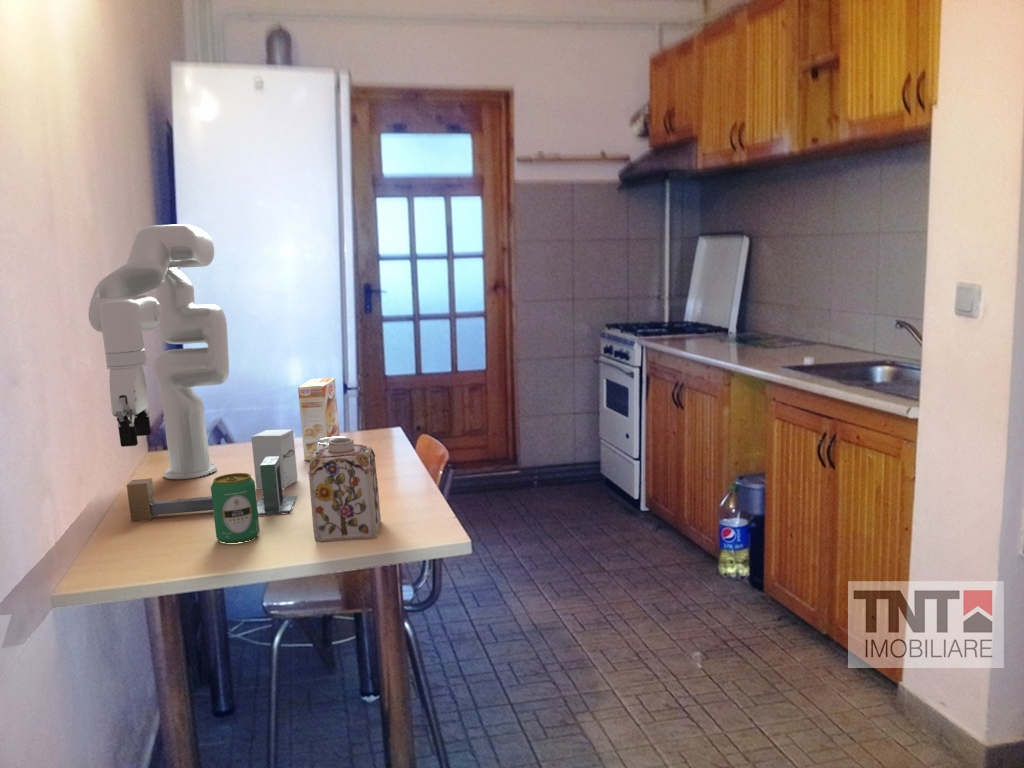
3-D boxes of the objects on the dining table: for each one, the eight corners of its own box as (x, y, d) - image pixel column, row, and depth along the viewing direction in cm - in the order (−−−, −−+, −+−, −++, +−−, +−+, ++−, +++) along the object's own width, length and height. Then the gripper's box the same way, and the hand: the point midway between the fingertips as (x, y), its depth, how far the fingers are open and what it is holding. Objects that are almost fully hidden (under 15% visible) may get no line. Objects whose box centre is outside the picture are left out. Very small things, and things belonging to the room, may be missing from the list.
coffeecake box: (330, 459, 232) (323, 385, 229) (303, 460, 232) (296, 387, 229) (342, 446, 246) (335, 377, 243) (316, 447, 247) (310, 378, 244)
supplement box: (285, 489, 205) (279, 435, 203) (255, 489, 206) (249, 436, 204) (298, 480, 212) (293, 428, 210) (270, 480, 213) (265, 429, 211)
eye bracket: (260, 500, 196) (255, 455, 194) (297, 497, 197) (292, 452, 195) (250, 516, 184) (245, 468, 182) (290, 513, 185) (285, 465, 183)
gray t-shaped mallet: (136, 516, 189) (132, 479, 188) (252, 506, 192) (248, 470, 191) (131, 522, 185) (126, 484, 184) (249, 511, 188) (245, 474, 187)
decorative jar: (322, 524, 176) (314, 435, 173) (381, 520, 177) (374, 431, 174) (313, 544, 164) (304, 449, 162) (377, 539, 165) (369, 444, 162)
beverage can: (219, 548, 165) (212, 485, 163) (214, 536, 172) (208, 476, 171) (263, 540, 168) (256, 479, 166) (257, 529, 176) (250, 470, 174)
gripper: (120, 355, 191) (130, 432, 194) (92, 367, 174) (104, 451, 177) (156, 352, 192) (166, 430, 195) (132, 364, 175) (143, 448, 178)
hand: (136, 440), depth 186 cm, fingers open, 9 cm apart
